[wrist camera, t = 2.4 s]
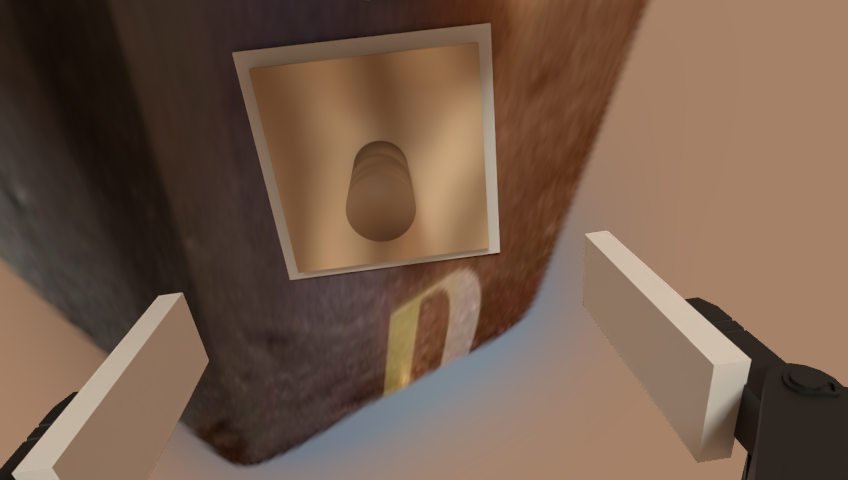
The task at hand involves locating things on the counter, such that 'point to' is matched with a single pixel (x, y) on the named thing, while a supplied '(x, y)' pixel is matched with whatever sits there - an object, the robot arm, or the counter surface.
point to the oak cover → (377, 154)
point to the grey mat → (365, 47)
